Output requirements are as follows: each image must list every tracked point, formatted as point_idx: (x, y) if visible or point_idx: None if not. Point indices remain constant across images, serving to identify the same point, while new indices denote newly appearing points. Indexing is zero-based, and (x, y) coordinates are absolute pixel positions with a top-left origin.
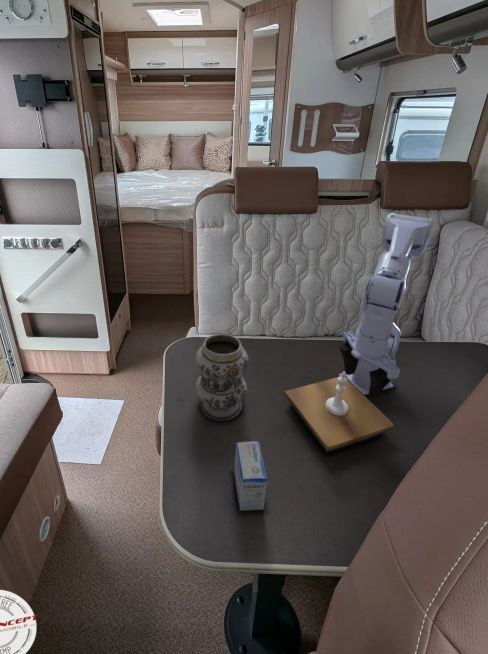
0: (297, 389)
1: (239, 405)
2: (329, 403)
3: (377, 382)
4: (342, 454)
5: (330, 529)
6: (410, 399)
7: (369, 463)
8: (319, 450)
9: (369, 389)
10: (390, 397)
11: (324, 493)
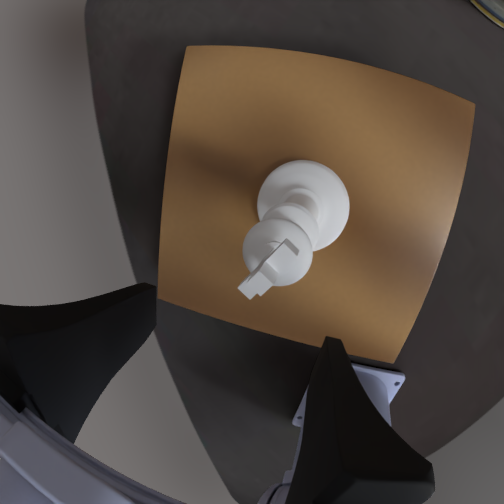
0: (460, 152)
1: (482, 3)
2: (321, 180)
3: (7, 305)
4: None
5: (114, 3)
6: (246, 412)
7: (154, 163)
8: None
9: (123, 298)
10: (275, 393)
11: (157, 19)
